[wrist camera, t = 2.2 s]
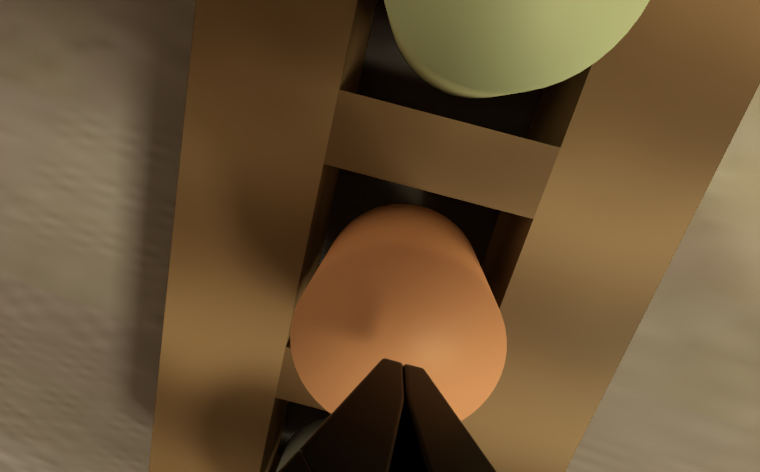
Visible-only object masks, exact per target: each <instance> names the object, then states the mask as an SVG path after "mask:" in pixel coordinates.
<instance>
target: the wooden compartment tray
mask: <svg viewBox="0 0 760 472" xmlns="http://www.w3.org/2000/svg"><path fill="white" fill-rule="evenodd" d="M376 3H377V0H196V7H195V17H194V27H193V37H192V47H191V57H190V66H189V76H188V86H187V96H186V106H185V116H184V126H183V136H182V146H181V156H180V165H179V175H178V185H177V195H176V205H175V215H174V225H173V235H172V245H171V255H170V264H169V274H168V284H167V294H166V304H165V314H164V324H163V334H162V344H161V354H160V363H159V373H158V383H157V393H156V403H155V413H154V423H153V433H152V443H151V453H150V462H149V472H276V471H277V468H278V465H279V463H280V460H281V457H282V455H283V454H281V453H277V452H278V447H279V443H280V438H281V434H282V429H283V425H284V420H285V415H286V411H287V406H288V402H289V401H291V402H295V403H298V404H302V405H306V406H310V407H314V408H317V409H321V410H325V409H324V408H323V407H322V406H321V405H320V404H319V403H318V402H317V401H316V400H315V399H314V398H313V397H312V395H311V394H310V393H309V392H308V390H307V389H306V387H305V386H304V384H303V383H302V381H301V379H300V377H299V375H298V373H297V370H296V368H295V365H294V361H293V358H292V352H291V346H290V331H291V323H292V319H293V315H294V312H295V308H296V306H297V304H298V302H299V300H300V297H301V296H302V294H303V292H304V291H305V289H306V287H307V286H308V284H309V282H310V281H311V279H312V277H313V276H314V274H315V272H316V271H317V269H318V266H319V261H320V257H321V252H322V248H323V243H324V239H325V234H326V229H327V225H328V220H329V216H330V211H331V207H332V202H333V198H334V193H335V189H336V184H337V180H338V175H339V170H340V168H341V169H345V170H349V171H352V172H356V173H360V174H364V175H368V176H371V177H375V178H379V179H383V180H387V181H390V182H394V183H398V184H402V185H406V186H409V187H413V188H417V189H421V190H425V191H428V192H432V193H436V194H440V195H444V196H447V197H451V198H455V199H459V200H463V201H466V202H470V203H474V204H478V205H482V206H485V207H489V208H493V209H497V210H501V211H500V214H499V216H498V219H497V222H496V225H495V228H494V231H493V234H492V236H491V239H490V242H489V245H488V248H487V251H486V254H485V256H484V259H483V262H482V265H481V268H482V271H483V273H484V275H485V277H486V280H487V282H488V284H489V287H490V289H491V291H492V293H493V296H494V298H495V300H496V303H497V305H498V307H499V309H500V312H501V314H502V318H503V321H504V324H505V330H506V336H507V353H506V359H505V365H504V368H503V371H502V374H501V377H500V379H499V381H498V383H497V385H496V387H495V389H494V390H493V391H492V393H491V394H490V396H489V397H488V398H487V400H486V401H485V402H484V403H483V404H482V405H481V406H480V407H479V408H478V409H477V410H476V411H474V412H473V413H472V414H471V415H470V416H468V417H467V418H465V419H464V420H462V421H461V422H462V423H463V425H464V426H465V428H466V429H467V430H468V432H469V433H470V435H471V436H472V438H473V439H474V440H475V442H476V443H477V445H478V446H479V448H480V449H481V450H482V452H483V453H484V455H485V456H486V457H487V459H488V460H489V462H490V463H491V465H492V466H493V467H494V469H495V470H496V472H565V471H566V469H567V467H568V465H569V463H570V461H571V459H572V457H573V455H574V453H575V451H576V449H577V447H578V445H579V443H580V441H581V439H582V437H583V435H584V433H585V431H586V429H587V427H588V425H589V423H590V421H591V419H592V417H593V415H594V413H595V411H596V409H597V407H598V405H599V403H600V401H601V399H602V397H603V395H604V393H605V391H606V389H607V387H608V385H609V383H610V381H611V379H612V377H613V375H614V373H615V371H616V369H617V367H618V365H619V363H620V361H621V359H622V357H623V355H624V353H625V351H626V349H627V347H628V345H629V343H630V341H631V339H632V337H633V336H634V334H635V332H636V330H637V328H638V326H639V324H640V322H641V320H642V318H643V316H644V314H645V312H646V310H647V308H648V306H649V304H650V302H651V300H652V298H653V296H654V294H655V292H656V290H657V288H658V286H659V284H660V282H661V280H662V278H663V276H664V274H665V272H666V270H667V268H668V266H669V264H670V262H671V260H672V258H673V256H674V254H675V252H676V250H677V248H678V246H679V244H680V242H681V240H682V238H683V236H684V234H685V232H686V230H687V228H688V226H689V224H690V222H691V220H692V218H693V216H694V214H695V212H696V210H697V208H698V206H699V204H700V202H701V200H702V198H703V196H704V194H705V192H706V190H707V188H708V186H709V184H710V182H711V180H712V178H713V176H714V174H715V172H716V170H717V168H718V166H719V164H720V162H721V160H722V158H723V156H724V154H725V152H726V150H727V148H728V146H729V144H730V142H731V140H732V138H733V136H734V134H735V132H736V130H737V128H738V126H739V124H740V122H741V120H742V118H743V116H744V114H745V112H746V110H747V108H748V106H749V104H750V102H751V100H752V98H753V96H754V94H755V92H756V90H757V88H758V86H759V84H760V0H650V1H649V2H648V4H647V6H646V7H645V9H644V11H643V12H642V14H641V16H640V17H639V18H638V20H637V21H636V22H635V23H634V25H633V26H632V27H631V29H630V30H629V31H628V33H627V34H626V35H625V36H624V37H623V38H622V39H621V40H620V41H619V42H618V43H617V44H616V45H615V46H614V47H613V48H612V49H611V50H610V51H609V52H608V53H606V54H605V55H604V56H603V57H602V58H600V59H599V60H598V61H597V62H595V63H594V64H592V65H591V66H589V67H588V68H586V69H585V70H583V71H582V72H580V73H578V74H576V75H574V76H572V77H570V78H568V79H566V80H564V81H562V82H559V83H556V84H553V85H551V86H548V87H545V88H543V91H542V94H541V97H540V100H539V102H538V105H537V108H536V111H535V114H534V117H533V120H532V122H531V125H530V128H529V131H528V134H527V137H526V139H525V138H521V137H518V136H514V135H510V134H506V133H503V132H499V131H495V130H491V129H487V128H484V127H480V126H476V125H472V124H468V123H465V122H461V121H457V120H453V119H449V118H446V117H442V116H438V115H434V114H430V113H427V112H423V111H419V110H415V109H411V108H408V107H404V106H400V105H396V104H392V103H389V102H385V101H381V100H377V99H373V98H370V97H366V96H362V95H358V94H356V93H357V89H358V84H359V80H360V75H361V71H362V66H363V62H364V57H365V53H366V48H367V43H368V39H369V34H370V30H371V25H372V21H373V16H374V12H375V7H376ZM325 411H327V410H325Z"/></svg>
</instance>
